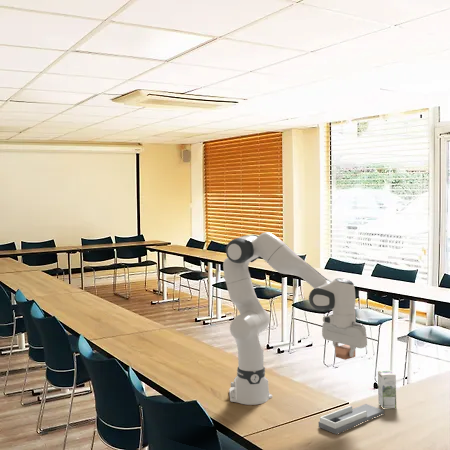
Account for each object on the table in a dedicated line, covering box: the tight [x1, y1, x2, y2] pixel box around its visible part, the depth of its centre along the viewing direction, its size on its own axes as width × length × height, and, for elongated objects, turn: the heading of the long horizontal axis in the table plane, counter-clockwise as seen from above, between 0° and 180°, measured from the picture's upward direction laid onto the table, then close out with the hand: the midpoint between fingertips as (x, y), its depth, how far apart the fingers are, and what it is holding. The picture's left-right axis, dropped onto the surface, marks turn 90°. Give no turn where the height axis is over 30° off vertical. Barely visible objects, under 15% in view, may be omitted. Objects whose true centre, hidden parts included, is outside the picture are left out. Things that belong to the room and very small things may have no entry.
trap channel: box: [318, 403, 385, 435], centre depth 220 cm, size 28×9×4 cm, turn 128°
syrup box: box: [377, 370, 397, 409], centre depth 233 cm, size 6×6×14 cm
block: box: [335, 344, 356, 361], centre depth 226 cm, size 6×5×4 cm
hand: (344, 354), depth 226 cm, fingers closed on block, 5 cm apart
